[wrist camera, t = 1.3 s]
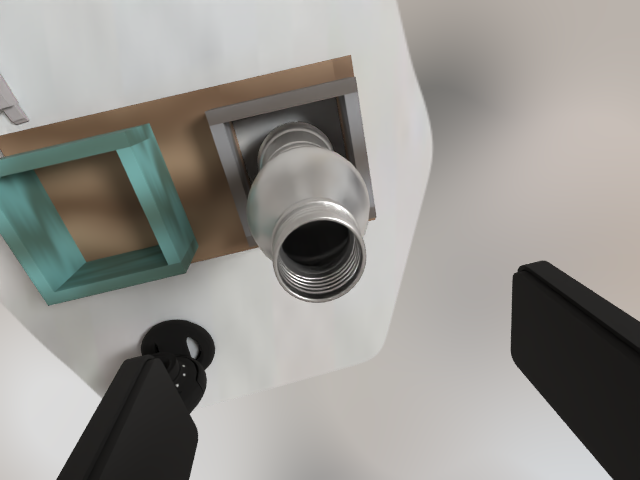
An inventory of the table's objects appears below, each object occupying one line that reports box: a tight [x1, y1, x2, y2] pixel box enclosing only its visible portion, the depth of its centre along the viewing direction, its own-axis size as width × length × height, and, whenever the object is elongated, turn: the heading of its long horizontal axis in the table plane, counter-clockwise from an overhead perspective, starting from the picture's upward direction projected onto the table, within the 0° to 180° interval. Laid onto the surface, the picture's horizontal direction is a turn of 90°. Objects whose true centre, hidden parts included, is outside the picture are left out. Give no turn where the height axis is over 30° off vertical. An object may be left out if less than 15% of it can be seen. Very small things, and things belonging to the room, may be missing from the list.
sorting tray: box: [0, 55, 376, 306], centre depth 28 cm, size 14×28×6 cm, turn 102°
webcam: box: [141, 320, 215, 414], centre depth 34 cm, size 8×8×10 cm
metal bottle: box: [246, 122, 370, 303], centre depth 22 cm, size 6×7×20 cm
